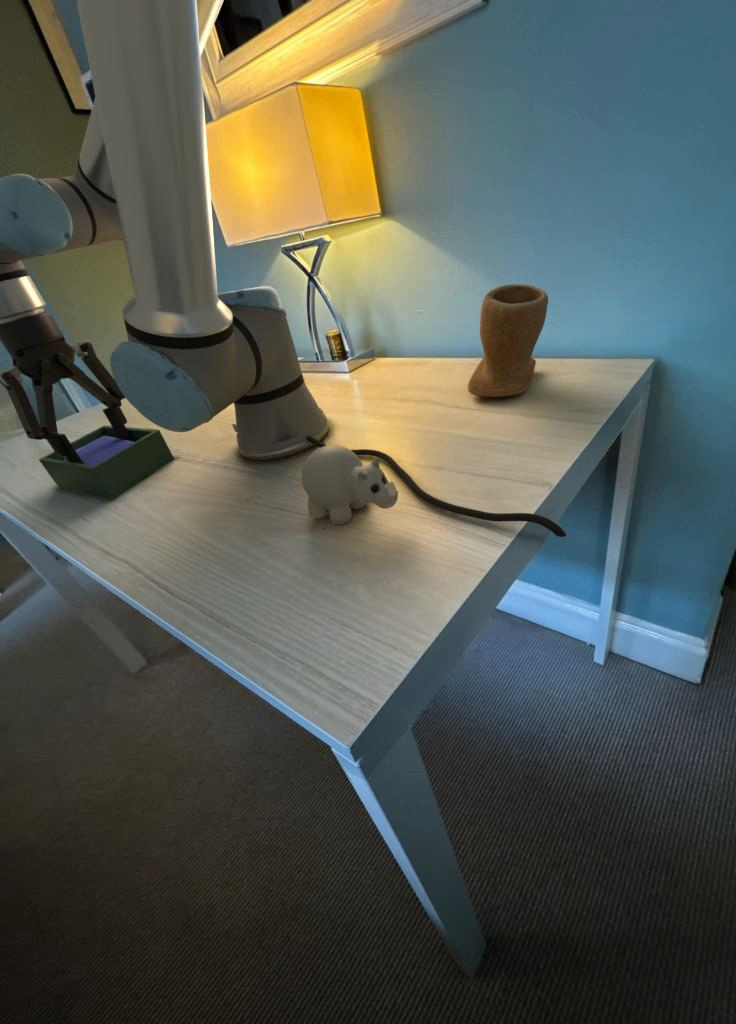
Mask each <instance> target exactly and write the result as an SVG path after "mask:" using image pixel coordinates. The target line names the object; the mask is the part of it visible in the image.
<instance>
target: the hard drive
mask: <svg viewBox="0 0 736 1024" xmlns="http://www.w3.org/2000/svg"><path fill="white" fill-rule="evenodd" d="M133 443H134V442H132V441H128V440H123V439H119V438H114V437H109V436H102V437H100V438H98V439H96V440H94V441H92V442H91V443H89V444H87V445H85V446H83V447H81V448H79V449H77V450H75V451H76V452H77V454H78V455H79V457H80V458H81V460H82V462H83V463H84V464H86V465H92V466H95V465H97V464H98V463H100V462H102V461H103V460H105V459H107V458H109V457H110V456H112V455H114V454H115V453H117V452H119V451H121V450H122V449H124V448H126V447H127V446H129V445H131V444H133ZM63 459H64V461H68V460H67V458H66V457H63ZM68 462H69V461H68Z"/></svg>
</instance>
